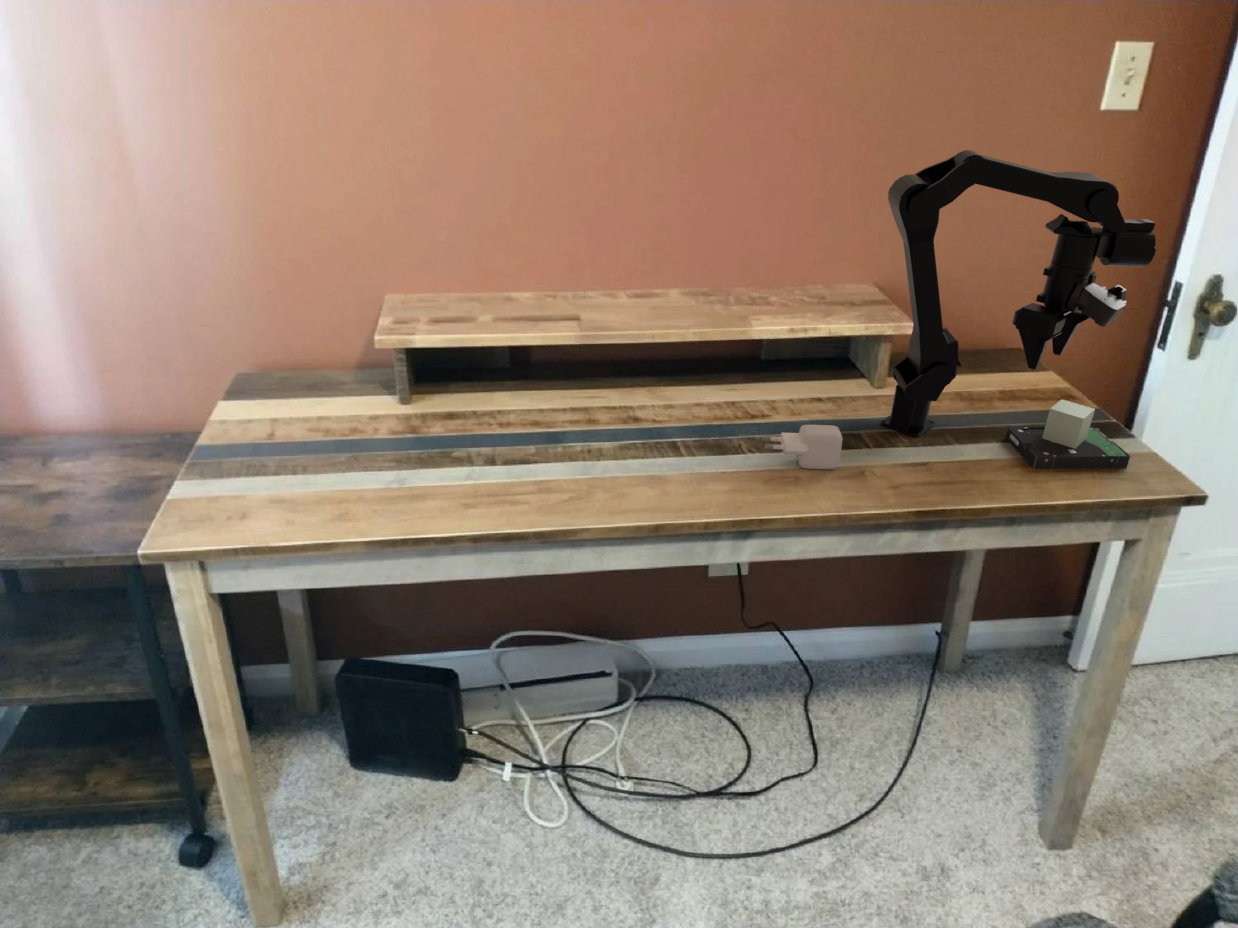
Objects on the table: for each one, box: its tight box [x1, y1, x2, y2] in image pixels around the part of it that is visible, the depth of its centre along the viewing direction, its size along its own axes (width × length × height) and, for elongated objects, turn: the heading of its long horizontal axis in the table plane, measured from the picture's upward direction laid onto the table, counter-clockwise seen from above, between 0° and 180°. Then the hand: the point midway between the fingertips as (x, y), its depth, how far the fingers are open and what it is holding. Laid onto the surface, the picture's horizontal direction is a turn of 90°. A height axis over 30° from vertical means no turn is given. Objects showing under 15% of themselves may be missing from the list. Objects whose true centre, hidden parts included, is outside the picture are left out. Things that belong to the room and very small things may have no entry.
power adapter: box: [761, 424, 843, 470], centre depth 142 cm, size 11×5×6 cm, turn 90°
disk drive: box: [1005, 426, 1131, 470], centre depth 149 cm, size 10×3×15 cm
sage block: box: [1042, 399, 1096, 449], centre depth 148 cm, size 5×5×5 cm
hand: (1044, 361), depth 151 cm, fingers open, 9 cm apart
